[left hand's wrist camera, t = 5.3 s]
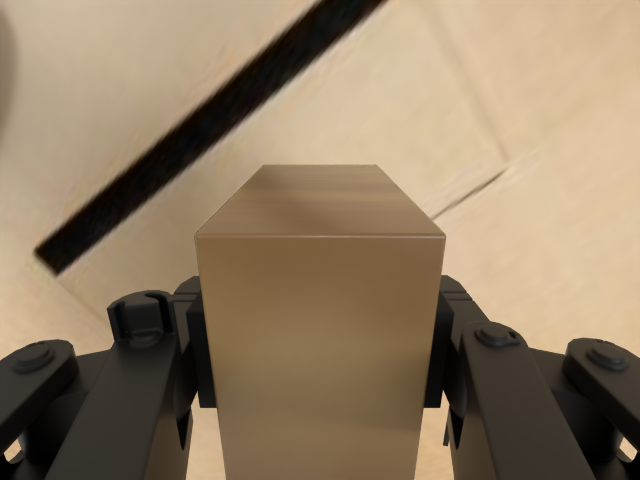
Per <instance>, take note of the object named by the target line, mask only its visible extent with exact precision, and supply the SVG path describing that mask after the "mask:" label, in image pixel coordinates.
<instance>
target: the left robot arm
mask: <svg viewBox="0 0 640 480" xmlns="http://www.w3.org/2000/svg"><path fill="white" fill-rule="evenodd" d="M107 312H108V316H109V320H110V324H111V328H112V332H113V336H114V341H115V342H114V344H113V346H112V348H111V349H109V350H105V351H101V352H96V353H91V354H85V355H80V356H76V355H75V352H74V348H73V345H72V344H71V343H69V342H68V341H65V340H58V339H57V340H47V341H46V340H45V341H39V342H38V343H36V342H35V343H32V344H29V345H27V346H26V347H23V348H21V349H19V350H16V351H14V352H13V353H11V354H10V355H8V356H7V357H5V358H3V359H2V360H1V361H0V480H186V473H187V465H188V457H189V450H190V442H191V434H192V426H193V417H192V411H191V404H192V402H193V400H194V397H195V395H196V393H197V391H198V398H199V404H200V408H217V405H216V398H215V390H214V383H213V375H212V367H211V360H210V352H209V345H208V337H207V329H206V322H205V314H204V307H203V299H202V291H201V284H200V276H193V277H192V278H190V279H188V280H187V281H185V282H183V283H182V284H180V286H179V287H178V288H177V290H176V291H175V292H174V295H171V294H169V293H168V292H164V291H160V290H147V291H141V292H136V293H132V294H130V295H127V296H124V297H122V298H120V299H118V300H116V301H114V302H113V303H112V304H111V305H110V306H109V307H108V308H107ZM443 390H444V393H445V395H446V397H447V400H448V402H449V404H450V405H449V411H448V417H447V423H446V429H445V435H444V442H443V445H444V446H448V443H449V441H450V449H451V457H452V464H453V472H454V480H640V358H639V357H637V356H636V355H634V354H632V353H631V352H629V351H628V350H626V349H624V348H621V347H619V346H617V345H615V344H614V343H611V342H608V341H603V340H600V339H590V338H579V339H573V340H572V341H571V342H569V343H568V346H567V349H566V353H565V355H563V354H558V353H553V352H548V351H542V350H537V349H533V348H529V347H528V345H527V343H526V341H525V340H524V339H523V337H522V336H521V335H520V334H519V333H518V332H516V331H514V330H513V329H511V328H510V327H507V326H505V325H502V324H500V323H496V322H491V321H490V320H489V319H488V318H487V317H486V315H485V314H484V313H483V312H482V310H481V309H480V308H479V307H478V305H477V304H476V303H475V302H474V301H472V298H471V297H470V295H469V294H468V293H467V291H466V290H465V289H464V288H463V286H462V285H461V284H460V283H459V282H457V281H456V280H454V279H452V278H451V277H449V276H447V275H441V280H440V287H439V295H438V302H437V310H436V317H435V325H434V332H433V340H432V348H431V355H430V363H429V370H428V378H427V385H426V393H425V401H424V408H440V406H441V399H442V393H443ZM623 437H625V438H626V439H627V440H628V441H629V443H630V444H631V445H632V446H633V447H634V448H635V449H636V450H637V451H638V452H637V454H636V456H635V459H634V460H631V459H630V458H629V457H628V456H626V455H625V454H624V452H623V451H622V450H621V449H620V448H619V447H620V445H621V442H622V440H623ZM16 439H18V441H19V444H20V446H21V450H20V452H19V453H18V454H17V455H16V456H15V457H14V458H13V459H11V460H10V461H9V462H8V461H7V460H6V458H5V455H4V452H5V451H6V450H7V449H8V448H9V447H10V446H11V445H12V443H13V442H14V441H15V440H16Z"/></svg>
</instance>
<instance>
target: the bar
mask: <svg viewBox="0 0 640 480" xmlns="http://www.w3.org/2000/svg"><path fill="white" fill-rule="evenodd" d="M194 238H195V246H196V254H197V261H198V269H199V276H200V284H201V291H202V299H203V307H204V314H205V322H206V329H207V337H208V345H209V352H210V360H211V367H212V375H213V383H214V390H215V398H216V405H217V413H218V421H219V428H220V436H221V443H222V451H223V458H224V466H225V474H226V480H414V476H415V469H416V461H417V453H418V446H419V438H420V431H421V423H422V416H423V408H424V401H425V393H426V385H427V378H428V370H429V363H430V355H431V348H432V340H433V332H434V325H435V317H436V310H437V302H438V295H439V287H440V280H441V272H442V264H443V257H444V249H445V242H446V235H445V233H444V232H443V231H442V230H441V229H440V228H439V227H438V226H437V225H436V224H435V223H434V222H433V221H432V220H431V219H430V218H429V217H428V216H427V215H426V214H425V213H424V212H423V211H422V210H421V209H420V208H419V207H418V206H417V205H416V204H415V203H414V202H413V201H412V200H411V199H410V198H409V197H408V196H407V195H406V194H405V193H404V192H403V191H402V190H401V189H400V188H399V187H398V186H397V185H396V184H395V183H394V182H393V181H392V180H391V179H390V178H389V177H388V176H387V175H386V174H385V173H384V172H383V171H382V170H381V169H380V168H379V167H378V166H377V165H263V166H262V167H261V168H260V169H259V170H258V171H257V172H256V173H255V174H254V175H253V176H252V177H251V178H250V179H249V180H248V181H247V182H246V183H245V184H244V185H243V186H242V187H241V188H240V189H239V190H238V191H237V192H236V193H235V194H234V195H233V196H232V197H231V198H230V199H229V200H228V201H227V202H226V203H225V204H224V205H223V206H222V207H221V208H220V209H219V210H218V211H217V212H216V213H215V214H214V215H213V216H212V217H211V218H210V219H209V221H208V222H207V223H206V224H205V225H204V226H203V227H202V228H201V229H200V230H199V231H198V232H197V233H196V234H195V236H194Z"/></svg>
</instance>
